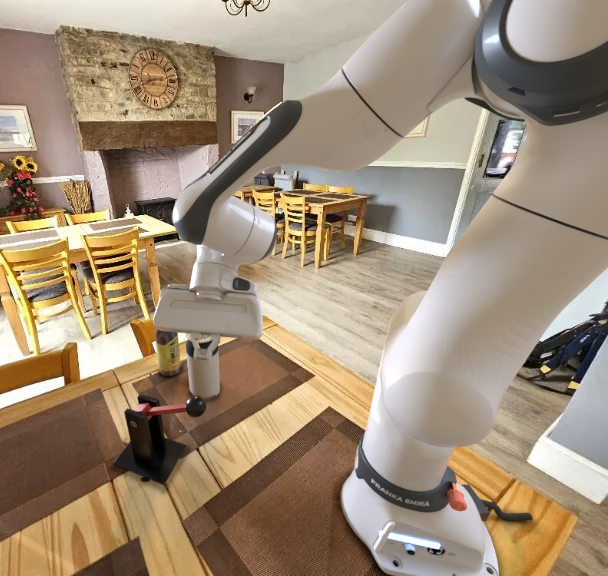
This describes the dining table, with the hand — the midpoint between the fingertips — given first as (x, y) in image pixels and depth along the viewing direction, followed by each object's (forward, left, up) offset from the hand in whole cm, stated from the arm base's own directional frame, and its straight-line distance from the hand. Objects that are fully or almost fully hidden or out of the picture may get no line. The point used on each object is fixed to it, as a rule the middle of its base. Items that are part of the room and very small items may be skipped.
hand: (202, 359), depth 55 cm
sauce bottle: (+22, -21, -25) cm, 39 cm away
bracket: (+11, +5, -25) cm, 27 cm away
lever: (+4, +5, -10) cm, 12 cm away
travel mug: (+9, -17, -25) cm, 31 cm away
